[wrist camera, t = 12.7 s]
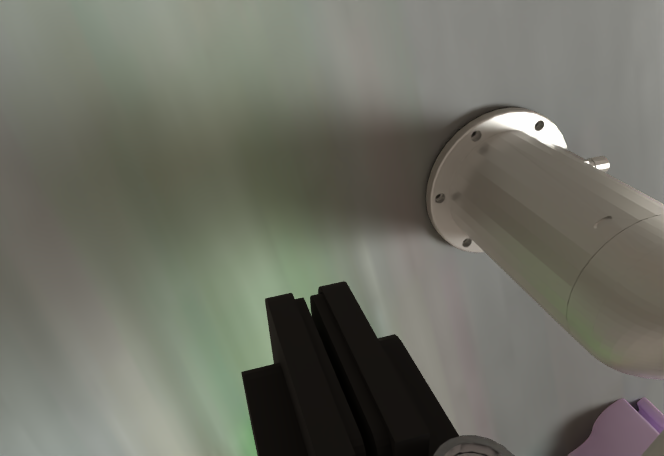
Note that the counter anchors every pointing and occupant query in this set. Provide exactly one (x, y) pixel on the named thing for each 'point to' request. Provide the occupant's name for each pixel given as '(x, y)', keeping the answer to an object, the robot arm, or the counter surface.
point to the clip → (623, 430)
